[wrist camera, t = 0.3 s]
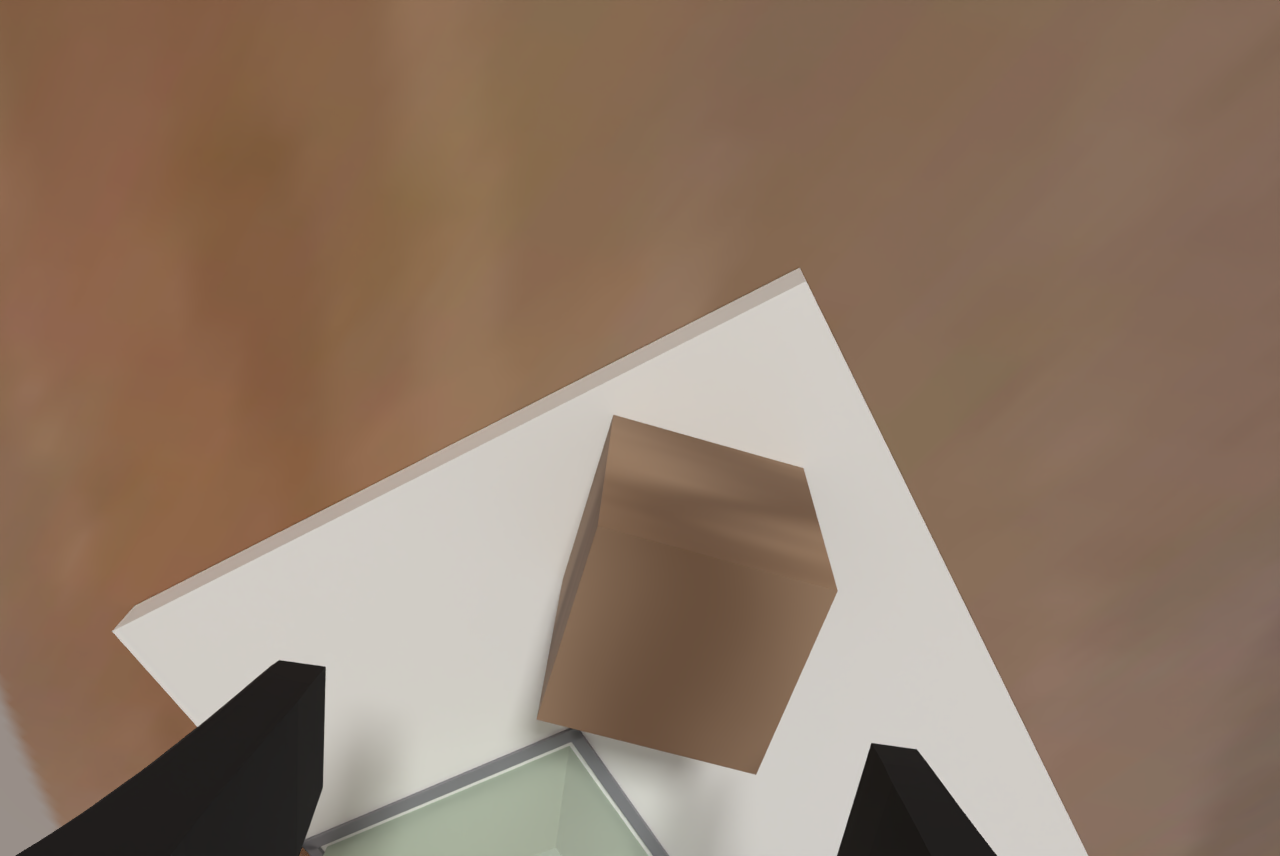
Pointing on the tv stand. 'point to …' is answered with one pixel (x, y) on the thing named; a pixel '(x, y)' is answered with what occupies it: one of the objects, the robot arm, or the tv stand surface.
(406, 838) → the sage base block
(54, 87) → the tv stand surface
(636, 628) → the walnut cube
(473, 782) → the baseplate
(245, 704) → the robot arm
